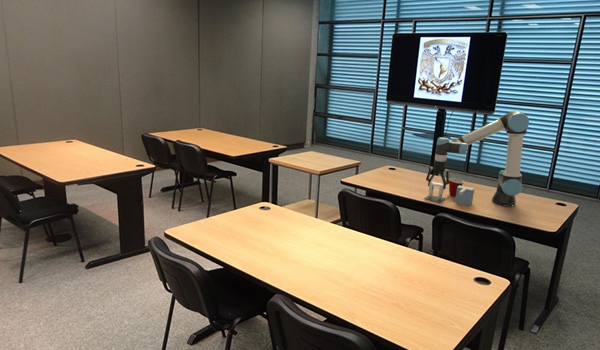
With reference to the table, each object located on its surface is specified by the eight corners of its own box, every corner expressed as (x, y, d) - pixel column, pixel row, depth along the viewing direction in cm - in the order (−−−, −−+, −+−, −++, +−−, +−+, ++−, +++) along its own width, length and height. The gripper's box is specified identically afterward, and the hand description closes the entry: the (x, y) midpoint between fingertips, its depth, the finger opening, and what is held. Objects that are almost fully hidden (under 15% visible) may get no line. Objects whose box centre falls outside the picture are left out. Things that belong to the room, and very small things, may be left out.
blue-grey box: (472, 203, 297) (474, 188, 294) (466, 209, 284) (468, 193, 281) (457, 200, 302) (459, 185, 299) (450, 206, 289) (453, 190, 287)
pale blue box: (441, 197, 301) (443, 184, 298) (439, 199, 298) (441, 185, 295) (430, 195, 305) (432, 181, 303) (428, 196, 302) (430, 182, 299)
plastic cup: (460, 199, 306) (462, 182, 303) (444, 196, 311) (447, 180, 308) (462, 195, 315) (465, 179, 312) (447, 192, 320) (450, 176, 317)
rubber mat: (445, 199, 304) (446, 198, 303) (440, 203, 294) (440, 202, 294) (429, 195, 310) (429, 194, 310) (423, 199, 300) (423, 198, 300)
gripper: (457, 162, 292) (452, 194, 298) (427, 156, 303) (423, 187, 309) (454, 163, 286) (449, 196, 292) (423, 158, 297) (419, 190, 303)
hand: (435, 192), depth 301 cm, fingers closed on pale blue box, 8 cm apart
